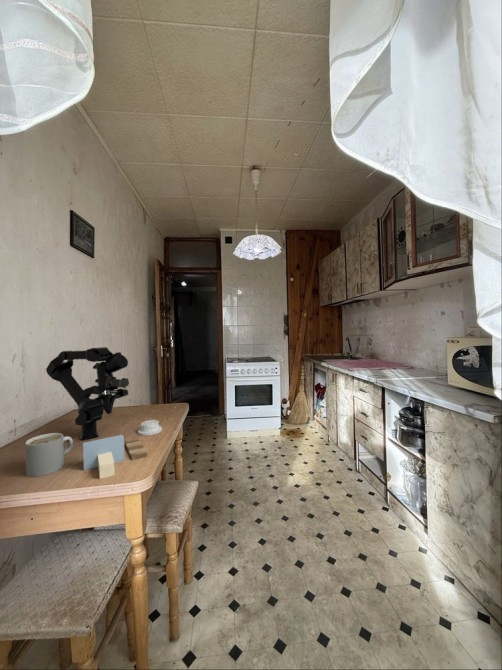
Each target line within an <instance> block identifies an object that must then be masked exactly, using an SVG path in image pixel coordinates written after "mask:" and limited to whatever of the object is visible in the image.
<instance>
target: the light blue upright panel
mask: <svg viewBox="0 0 502 670" xmlns="http://www.w3.org/2000/svg"><path fill="white" fill-rule="evenodd" d="M82 449H83V450H82V451H83V452H82V453H83V456H82V457H83V458H82V459H83V470H84V471H86V470H90V469H94V468H98V475H99V479H100V480H101V479H105V478H110V477H113V476H116V474H115V473H116V472H115V463H118V462H119V463H120V462H123V461H125V436H124V435H123V434H120V435H115V436H114V435H113V436H110V437H109V436H108V437H105V438H100V439H95V440H91V441H85V442H83V443H82Z"/></svg>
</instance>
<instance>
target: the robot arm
mask: <svg viewBox="0 0 502 670" xmlns="http://www.w3.org/2000/svg"><path fill="white" fill-rule="evenodd" d="M74 360H86V361H87V362H93V363H95V362H96V363H95V364H94V365H93V366H92V369H93V370H96V377H97V378H96V379H95V380H94V381H95V382H94V383H97V385H93V386H90V387H89V386H88V387H86V388H84V389H83V388H82V386H81V385H80V384H79V383H78V381H77V380H76V379H75V378H74V376H73V369H72V368H73V366H74ZM128 365H129V360H128V358H127V357H126V356H125V355H123V354H122V352H116V353H113V352H112V351H111V350H110V349H108V347H107V346H102V347H91V348H87V349H86V350H63V351H61V352H59V354H58V356H56V357H55V358H53V359H52V360H51V361H50V362H49V363H48V365H47V367H46V369H45V371H46V374H47V376H49V377H50V378H51V379H52V380H54V381H57V382H59V383H60V384H61V385H62V386H63V387H64V389H65V391H66V392H67V393H68V394H69V396H70V398H71V399H72V400H73V401H74V403H76V405H77V406H78V407H77V408H78V409H77V412H78V415H77V417H76V418H75V419H74V422H75V425H76V426H80V427H81V428H80V431H81V434H80V437H79V438H80V441H84V440H89V439H94V438H98V437H99V431H98V421H100V420H102V418H103V414H104V411H105V413H106V414H107V415H111V414H112V412H113V407H114V404H115V400H117V399H121V398H124V397H126V396H129V390H128V389H127V387H128V386H129V385H130V382H129V378H125V377H122V378H121V379H119V378H117V377H116V376H114V373H116V372H118V371H120V370H122V369H125V368H127V367H128ZM92 395H97V397H95V398H90V397H91V396H92Z"/></svg>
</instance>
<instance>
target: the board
mask: <svg viewBox="0 0 502 670" xmlns="http://www.w3.org/2000/svg"><path fill="white" fill-rule="evenodd" d="M124 446H125V447H126V450H127V451H128V455H129V457H130V459H131V461H134V460H138V459H142V458H146V457H148V453H147V450H146V448H145V447H144V446H143V444H142V442H141V441H140V439H139V438H134V439H129V440H124Z"/></svg>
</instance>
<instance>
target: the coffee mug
mask: <svg viewBox="0 0 502 670" xmlns="http://www.w3.org/2000/svg"><path fill="white" fill-rule="evenodd" d="M65 442H67V446H66V448H65V449H64V447H65V445H64V443H65ZM24 444H25V445H24V449H25V475H26V476H27V477H30V478H38V477H44V476H47V475H50V474H53V473H56V472H58V471H59V470H61V469H62V468H64V466H65V456H66V455H67V454H68V453H70V452H71V451H72V449H73V446H74V440H73V439H72V437H71V436H64V434H63V433H60V432H51V433H45V434H40V435H36V436H35V437H32V438H29V439H28V440H26V441H25V443H24Z"/></svg>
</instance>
